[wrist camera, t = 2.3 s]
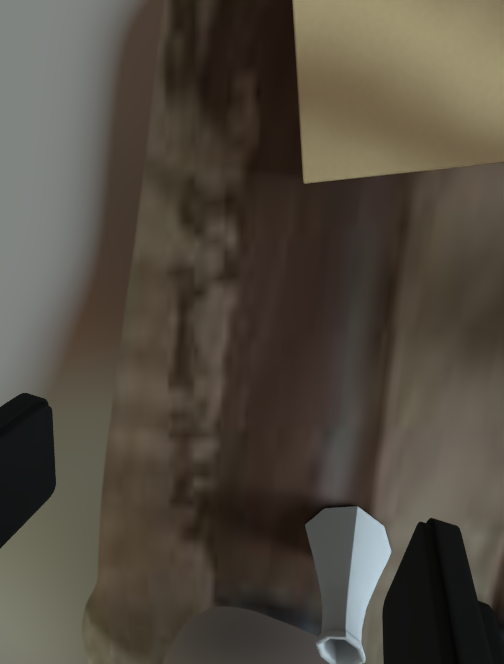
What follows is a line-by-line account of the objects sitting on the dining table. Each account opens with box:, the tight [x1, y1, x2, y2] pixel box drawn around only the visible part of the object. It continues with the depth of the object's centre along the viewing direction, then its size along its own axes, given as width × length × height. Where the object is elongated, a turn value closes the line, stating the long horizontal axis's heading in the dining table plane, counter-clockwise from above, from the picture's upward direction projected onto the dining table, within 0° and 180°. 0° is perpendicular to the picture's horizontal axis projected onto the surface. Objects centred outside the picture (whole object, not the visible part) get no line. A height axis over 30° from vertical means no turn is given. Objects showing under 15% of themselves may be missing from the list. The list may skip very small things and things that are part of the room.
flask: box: [305, 506, 391, 664], centre depth 33 cm, size 7×7×10 cm
